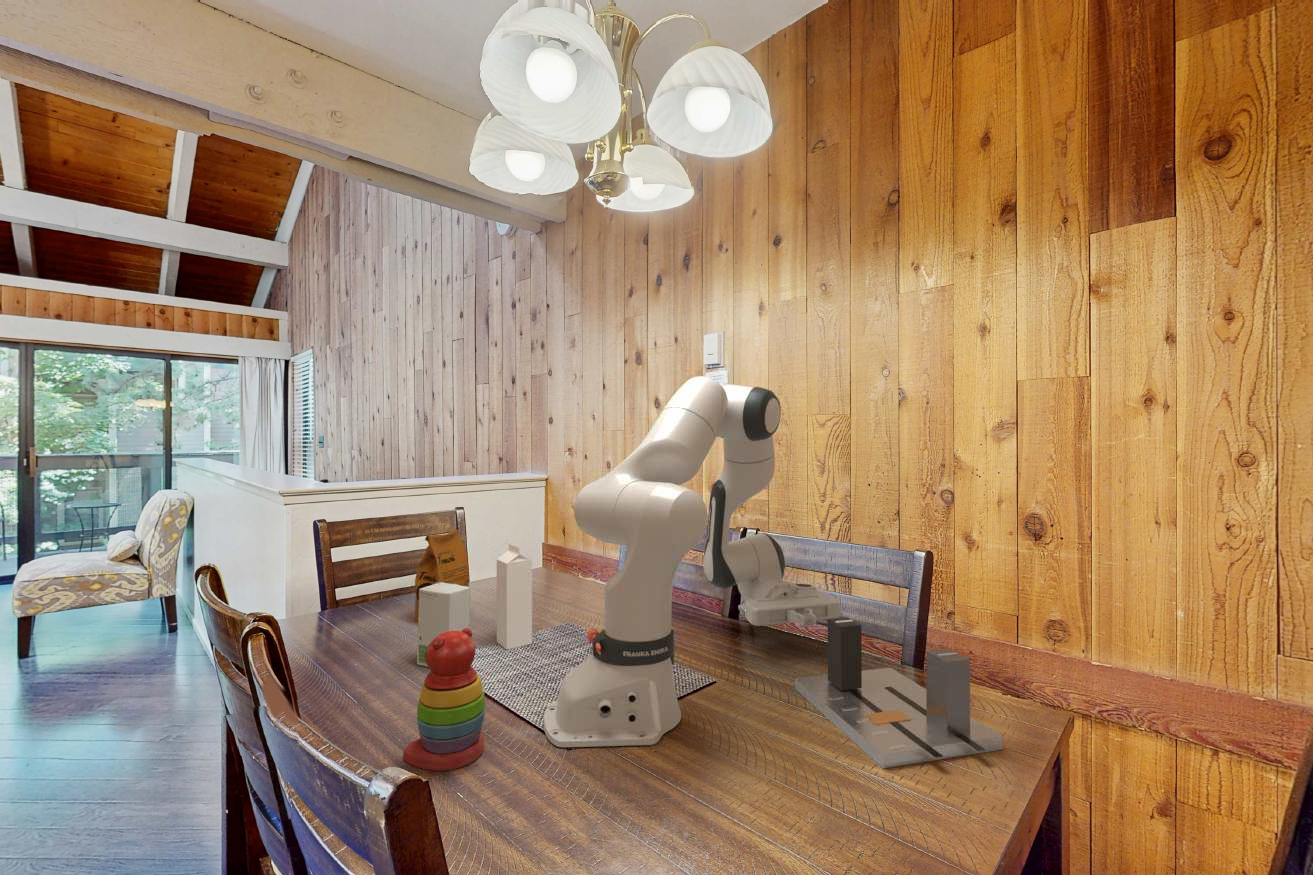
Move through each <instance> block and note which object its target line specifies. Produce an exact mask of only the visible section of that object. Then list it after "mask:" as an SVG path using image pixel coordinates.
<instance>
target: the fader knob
mask: <svg viewBox="0 0 1313 875" xmlns="http://www.w3.org/2000/svg"><path fill="white" fill-rule="evenodd" d="M862 644H863V642H862V624H860V623H858V622H857V621H855V620H853V619H851V618H849V617H838V618H833V619H827V675H828V681H830V682H831V683H832V684H833V685H835V686H836V687H837V688H839V689H840V690H849V689H858V688H862V671H863V670H862V664H863V663H862V662H863V661H862V659H863V658H862Z"/></svg>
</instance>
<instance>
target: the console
mask: <svg viewBox="0 0 1313 875" xmlns="http://www.w3.org/2000/svg"><path fill="white" fill-rule="evenodd" d="M925 658H926V659H925V662H926V663H925V664H926V668H925V671H926V674H925V675H926V677H925V678H926V680H925V681H926V688H925V687H923V686H921V685H920V684H918V683H916V682H915V681H913V680H912V679H910V678H908V677H907V676H906V675H903V673H902V674H901V673H900V672H899V671H897V670H896V669H894V668H892V667H884V668H874V669H866V670H865V669H864V670H862V688H858V689H849V690H840V689H839V688H837V687H836V686H835V685H833V684H832V683H831V682H830V681H828V674H821V675H811V676H805V677H804V676H803V677H795V678H794V690H796V691H797V692H798V693H799V694H800V695H801V696H802V697H804V698H805V699H806V701H807V702H808V703H810V704H811V705H812V706H813V707H815V708H816V709H817V710H818V711H819V712H820V713H821V714H822V715H824V717H825V718H827V719H828V720H829V721H830V722H831V723H832V724H833V725H834V726H836V728H837V729H839V730H840V731H841V732H842V733H843V734H844V735H845V736H846V737H848V739H850V740H851V741H852V742H853V743H855V744H856V746H858V747H859V748H860V749H861V750H862V751H863V752H864V753H866V754H867V755H868V757H870V758H871V759H872V760H873V762H875V763H876V764H878V765H879V766H880V767H881V768H882V769H888V768H895V767H896V768H897V767H901V766H907V765H913V764H922V763H927V762H933V761H939V760H945V759H952V758H958V757H959V758H960V757H963V756H965V757H966V756H970V755H971V756H972V755H978V754H984V753H990V752H996V751H1001V750H1003V736H1002V735H1001V733H999V732H996V731H994V730H993V729H992V728H990V727H988V726H986V725H985V724H983V723H982V722H980V721H978V720H977V719H975V718H974V717H972V716H971V660H970V659H969V658H967V657H965V656H964V655H961V654H959V653H958V652H955V651H954V650H951V649H949V648H944V649H936V650H927V651H926V654H925Z"/></svg>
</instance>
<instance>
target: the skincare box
mask: <svg viewBox="0 0 1313 875" xmlns="http://www.w3.org/2000/svg"><path fill="white" fill-rule="evenodd" d="M470 604H471V587H470V586H469V587H466V586H460V585H457V584H448V583H442V582H440V583H436V584H433V585H430V586H427V587H424V588H421V589H419V615H418V622H417V650H416V651H417V652H416V654H417V656H416V664H417V665H418V666H422V667H427V668H429V667H428V665H427V663H426V660H425V651H426V649H427V647H428V646H429V644H430V643H431V642H432V640H433V639H434V638H435V637H437V636H438V635H440V634H442V633H444V632H448V631H462V630H463V629H464V628H469V629H470V607H471V605H470Z"/></svg>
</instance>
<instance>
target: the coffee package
mask: <svg viewBox="0 0 1313 875" xmlns="http://www.w3.org/2000/svg"><path fill="white" fill-rule="evenodd" d="M424 540H425V541H426V542H427V544H428V546H427V547H426V549H425V551H424V556H423V558H422V559H421V561H420V563H419V565H418V567H417V570H416V574H415V575H416V576H415V579H414V588H415V599H414V600H415V603H414V617H415V620H416V622H417V623H418V615H419V589H421V588H424V587H427V586H430V585H433V584H436V583H440V582H442V583H448V584H457V585H460V586H466V587H470V584H469V583H470V582H469V581H470V580H469V579H470V578H469V577H470V575H469V574H470V573H469V561H468V553H467V551H466V547H465V545H464V542H463V541H462V538H461V535H460V533H459V530H458V529H453V530H452V531H449V533H445V534H431V535H429V534H426V536H425V538H424Z"/></svg>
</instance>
